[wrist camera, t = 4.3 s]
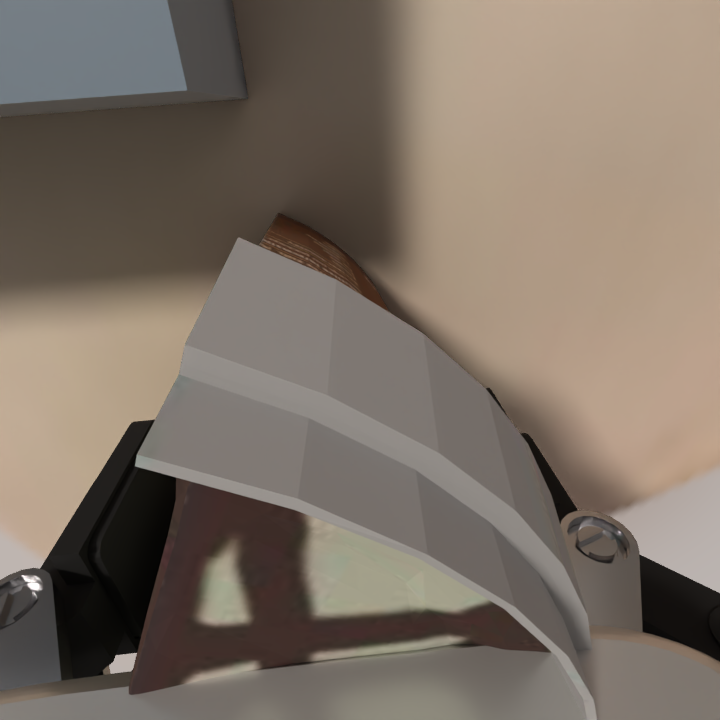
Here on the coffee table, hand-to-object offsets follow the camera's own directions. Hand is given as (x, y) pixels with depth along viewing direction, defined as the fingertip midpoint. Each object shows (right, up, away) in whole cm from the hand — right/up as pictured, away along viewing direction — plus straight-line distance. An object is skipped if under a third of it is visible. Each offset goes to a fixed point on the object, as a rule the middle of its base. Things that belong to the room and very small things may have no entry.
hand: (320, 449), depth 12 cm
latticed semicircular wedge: (0, +2, +2) cm, 3 cm away
